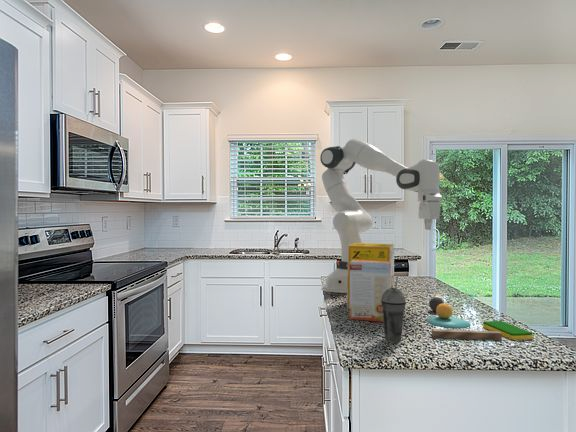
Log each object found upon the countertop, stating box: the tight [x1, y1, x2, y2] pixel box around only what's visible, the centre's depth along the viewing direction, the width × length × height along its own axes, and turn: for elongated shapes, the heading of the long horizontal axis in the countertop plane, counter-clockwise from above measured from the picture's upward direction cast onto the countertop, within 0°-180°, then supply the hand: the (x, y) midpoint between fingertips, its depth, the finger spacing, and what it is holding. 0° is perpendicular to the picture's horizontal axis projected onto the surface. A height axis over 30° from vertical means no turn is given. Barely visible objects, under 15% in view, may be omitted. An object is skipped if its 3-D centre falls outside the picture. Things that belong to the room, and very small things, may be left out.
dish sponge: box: [482, 320, 533, 341], centre depth 128 cm, size 7×14×2 cm, turn 11°
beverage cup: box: [381, 273, 407, 344], centre depth 119 cm, size 7×7×20 cm
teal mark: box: [426, 316, 471, 329], centre depth 139 cm, size 14×14×1 cm
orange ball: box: [435, 302, 453, 319], centre depth 144 cm, size 6×6×6 cm
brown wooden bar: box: [431, 328, 503, 341], centre depth 122 cm, size 20×2×2 cm, turn 85°
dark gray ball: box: [428, 296, 445, 312], centre depth 154 cm, size 6×6×6 cm
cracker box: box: [349, 260, 391, 323], centre depth 142 cm, size 14×6×21 cm, turn 71°
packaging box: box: [346, 242, 395, 309], centre depth 163 cm, size 16×16×25 cm
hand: (428, 229), depth 170 cm, fingers closed
